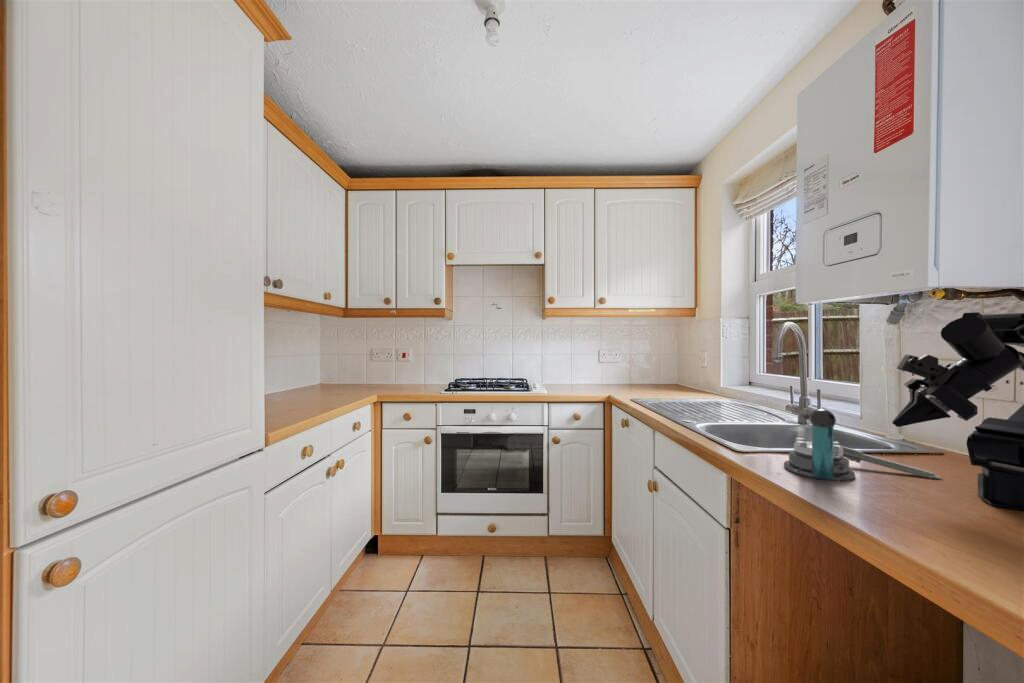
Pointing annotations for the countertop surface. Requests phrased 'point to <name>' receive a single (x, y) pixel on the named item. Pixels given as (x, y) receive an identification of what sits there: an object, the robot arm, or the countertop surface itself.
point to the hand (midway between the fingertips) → (894, 424)
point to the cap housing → (804, 468)
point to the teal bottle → (821, 444)
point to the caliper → (885, 463)
